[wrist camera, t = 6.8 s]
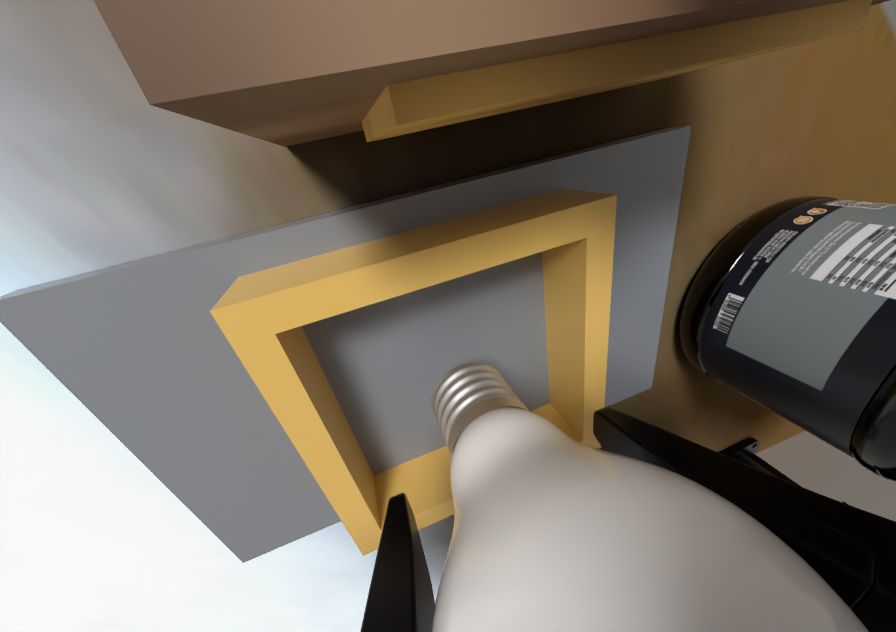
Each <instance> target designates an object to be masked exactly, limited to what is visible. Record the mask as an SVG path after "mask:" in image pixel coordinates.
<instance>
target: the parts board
mask: <svg viewBox="0 0 896 632" xmlns="http://www.w3.org/2000/svg"><path fill="white" fill-rule="evenodd" d="M690 132H691V126H682V127H672V128H666V129H661V130H657V131H653V132H649V133H645V134H641V135H637V136H633V137H629V138H625V139H621V140H617V141H613V142H609V143H605V144H601V145H597V146H593V147H589V148H585V149H581V150H577V151H573V152H569V153H565V154H561V155H557V156H553V157H549V158H545V159H541V160H537V161H533V162H529V163H525V164H521V165H517V166H513V167H509V168H505V169H501V170H497V171H493V172H489V173H485V174H481V175H477V176H473V177H469V178H465V179H461V180H457V181H453V182H449V183H445V184H441V185H437V186H433V187H429V188H425V189H421V190H417V191H413V192H409V193H405V194H401V195H397V196H393V197H389V198H385V199H381V200H377V201H373V202H369V203H365V204H361V205H357V206H353V207H349V208H345V209H341V210H337V211H333V212H329V213H325V214H321V215H317V216H313V217H309V218H305V219H301V220H297V221H293V222H289V223H285V224H281V225H276V226H272V227H268V228H264V229H260V230H256V231H252V232H248V233H244V234H240V235H236V236H232V237H228V238H224V239H220V240H216V241H212V242H208V243H204V244H200V245H196V246H192V247H188V248H184V249H180V250H176V251H172V252H168V253H164V254H160V255H156V256H152V257H148V258H144V259H140V260H136V261H132V262H128V263H124V264H120V265H116V266H112V267H108V268H104V269H100V270H96V271H92V272H88V273H84V274H80V275H76V276H72V277H68V278H64V279H60V280H56V281H52V282H48V283H44V284H40V285H36V286H32V287H28V288H24V289H20V290H16V291H14V292H11V293H9V294H6V295H4V296H1V297H0V322H1V323H2V324H3V325H4V326H5V327H6V328H7V329H8V330H9V331H10V332H11V333H12V334H13V335H14V336H15V337H16V338H17V339H18V340H19V341H20V342H21V343H22V344H23V345H24V346H25V347H26V348H27V349H28V350H29V351H30V352H31V353H32V354H33V355H34V356H35V357H36V358H37V359H38V360H39V361H40V362H41V363H42V364H43V365H44V366H45V367H46V368H47V369H48V370H49V371H50V372H51V373H52V374H53V375H54V376H55V377H56V378H57V379H58V380H59V381H60V382H61V383H62V384H63V385H64V386H65V387H67V388H68V389H69V390H70V391H71V392H72V393H73V394H74V395H75V396H76V397H77V398H78V399H79V400H80V401H81V402H82V403H83V404H84V405H85V406H86V407H87V408H88V409H89V410H90V411H91V412H92V413H93V414H94V415H95V416H96V417H97V418H98V419H99V420H100V421H101V422H102V423H103V424H104V425H105V426H106V427H107V428H108V429H109V430H110V431H111V432H112V433H113V434H114V435H115V436H116V437H117V438H118V439H119V440H120V441H121V442H122V443H123V444H124V445H125V446H126V447H127V448H128V449H129V450H130V451H131V452H132V453H133V454H134V455H135V456H136V457H137V458H138V459H139V460H140V461H141V462H142V463H143V464H144V465H145V466H146V467H147V468H148V469H149V470H150V471H151V472H152V473H153V474H154V475H155V476H156V477H157V478H158V479H159V480H160V481H161V482H162V483H163V484H164V485H165V486H166V487H167V488H168V489H169V490H170V491H171V492H172V493H173V494H174V495H175V496H176V497H177V498H178V499H179V500H180V501H181V502H182V503H183V504H184V505H185V506H187V507H188V508H189V509H190V510H191V511H192V512H193V513H194V514H195V515H196V516H197V517H198V518H199V519H200V520H201V521H202V522H203V523H204V524H205V525H206V526H207V527H208V528H209V529H210V530H211V531H212V532H213V533H214V534H215V535H216V536H217V537H218V538H219V539H220V540H221V541H222V542H223V543H224V544H225V545H226V546H227V547H228V548H229V549H230V550H231V551H232V552H233V553H234V554H235V555H236V556H237V557H238V558H239V559H240V560H241V561H242V562H243V563H244V562H246V561H249V560H251V559H253V558H256V557H258V556H260V555H263V554H265V553H267V552H270V551H272V550H274V549H277V548H279V547H281V546H284V545H286V544H288V543H291V542H293V541H295V540H298V539H300V538H302V537H305V536H307V535H309V534H312V533H314V532H316V531H319V530H321V529H323V528H326V527H328V526H330V525H333V524H335V523H337V522H340V521H342V522H343V524H344V526H345V527H346V529H347V530H348V532H349V534H350V535H351V537H352V538H353V540H354V541H355V543H356V545H357V546H358V548H359V549H360V551H361V553H362V554H363V555H365V554H367V553H370V552H372V551H374V550H376V549H378V548H379V543H380V538H381V534H382V529H383V524H384V520H385V515H386V510H387V506H388V502H389V499H390V498H391V497H393V496H395V495H398V494H400V493H405V494H406V496H407V499H408V501H409V503H410V506H411V508H412V511H413V514H414V517H415V521H416V524H417V528H418V530H420V529H423V528H425V527H427V526H429V525H431V524H434V523H436V522H438V521H440V520H442V519H445V518H447V517H449V516H451V515H453V514H454V506H453V499H452V492H451V484H450V466H451V459H452V458H451V456H450V453H449V450H448V447H447V445H446V442H445V439H444V437H443V435H442V432H441V429H440V427H439V425H438V422H437V419H436V417H435V415H434V411H433V409H432V405H431V398H432V393H433V390H434V388H435V386H436V384H437V383H438V381H439V380H440V379H441V378H442V377H443V376H444V375H445V374H446V373H447V372H448V371H450V370H451V369H453V368H455V367H457V366H459V365H462V364H465V363H469V362H483V363H487V364H489V365H491V366H493V367H494V368H495V369H496V370H497V371H498V372H499V373H500V375H501V376H502V378H504V380H505V381H506V383H507V384H508V385H509V386H510V387H511V389H512V390H513V392H514V393H515V394H516V395H517V396H518V398H519V400H520V401H521V402H522V403H523V404H524V405H525V406H526V407H527V409H528V410H529V411H531V412H534V413H536V414H538V415H540V416H542V417H544V418H546V419H547V420H549V421H550V422H552V423H553V424H554V425H556V426H557V427H558V428H559V429H561V430H562V431H563V432H564V433H566V434H567V435H568V436H570V437H571V438H573V439H574V440H576V441H578V442H580V443H582V444H585V445H587V446H591V447H594V448H598V449H599V448H601V447H602V446H601V445H600V443H599V442H598V441H597V439H596V438H595V436H594V433H593V415H594V412H595V411H596V410H599V409H601V408H604V407H608V406H610V405H613V404H615V403H617V402H620V401H622V400H625V399H627V398H629V397H632V396H634V395H636V394H639V393H641V392H643V391H646V390H648V389H650V388H652V383H653V377H654V370H655V363H656V357H657V350H658V344H659V337H660V330H661V324H662V317H663V311H664V304H665V297H666V291H667V284H668V278H669V271H670V264H671V258H672V251H673V245H674V238H675V231H676V225H677V218H678V212H679V205H680V198H681V192H682V185H683V179H684V172H685V165H686V159H687V152H688V146H689V139H690Z"/></svg>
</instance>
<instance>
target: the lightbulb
mask: <svg viewBox="0 0 896 632" xmlns="http://www.w3.org/2000/svg"><path fill="white" fill-rule="evenodd" d="M431 405H432V409H433V411H434V415H435V417H436V419H437V422H438V425H439V427H440V429H441V432H442V435H443V437H444V439H445V442H446V445H447V447H448V450H449V453H450V456H451V458H452V459H451V466H450V484H451V492H452V499H453V506H454V526H453V532H452V536H451V540H450V545H449V548H448V552H447V556H446V560H445V564H444V568H443V572H442V576H441V580H440V585H439V589H438V594H437V599H436V605H435V610H434V616H433V623H432V631H431V632H869V630H868V629H867V628H866V627H865V625H864V624H863V623H862V622H861V620H860V619H859V618H858V617H857V616H856V614H855V613H854V612H853V611H852V610H851V609H850V607H849V606H848V605H847V604H846V603H845V602H844V601H843V599H842V598H841V597H840V596H839V595H838V594H837V593H836V592H835V591H834V590H833V589H832V587H831V586H830V585H829V584H828V583H827V582H826V581H825V580H824V579H823V578H822V577H821V576H820V575H819V574H818V573H817V572H816V571H815V570H814V569H813V568H812V567H811V566H810V565H809V564H808V563H807V562H806V561H805V560H804V559H803V558H802V557H801V556H799V555H798V554H797V553H796V552H795V551H794V550H793V549H792V548H791V547H789V546H788V545H787V544H786V543H785V542H784V541H782V540H781V539H780V538H779V537H778V536H776V535H775V534H774V533H773V532H772V531H770V530H769V529H768V528H766V527H765V526H764V525H763V524H761V523H760V522H759V521H757V520H756V519H755V518H753V517H752V516H750V515H749V514H748V513H746V512H745V511H743V510H742V509H741V508H739V507H738V506H736V505H735V504H733V503H732V502H730V501H728V500H727V499H725V498H724V497H722V496H720V495H719V494H717V493H715V492H713V491H712V490H710V489H708V488H706V487H704V486H703V485H701V484H699V483H697V482H695V481H693V480H691V479H689V478H686V477H684V476H682V475H680V474H677V473H675V472H673V471H670V470H668V469H665V468H663V467H660V466H657V465H654V464H651V463H648V462H645V461H642V460H639V459H635V458H632V457H628V456H625V455H621V454H617V453H613V452H609V451H605V450H601V449H598V448H594V447H591V446H587V445H585V444H582V443H580V442H578V441H576V440H574V439H573V438H571V437H570V436H568V435H567V434H566V433H564V432H563V431H562V430H561V429H559V428H558V427H557V426H556V425H554V424H553V423H552V422H550V421H549V420H547V419H546V418H544V417H542V416H540V415H538V414H536V413H534V412H531V411H529V410H528V409H527V407H526V406H525V405H524V404H523V403H522V402H521V401H520V400H519V398H518V396H517V395H516V394H515V393H514V392H513V390H512V389H511V387H510V386H509V385H508V384H507V383H506V381H505V380H504V378H502V376H501V375H500V373H499V372H498V371H497V370H496V369H495V368H494V367H493V366H491V365H489V364H487V363H483V362H469V363H465V364H462V365H459V366H457V367H455V368H453V369H451V370H450V371H448V372H447V373H446V374H445V375H444V376H443V377H442V378H441V379H440V380H439V381H438V383H437V384H436V386H435V388H434V390H433V393H432V398H431Z"/></svg>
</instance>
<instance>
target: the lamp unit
mask: <svg viewBox="0 0 896 632" xmlns="http://www.w3.org/2000/svg"><path fill="white" fill-rule="evenodd" d="M885 1H889V0H94V2H95V4H96V6H97V8H98V9H99V11H100V13H101V15H102V17H103V19H104V21H105V22H106V24H107V26H108V28H109V30H110V32H111V34H112V35H113V37H114V39H115V41H116V43H117V45H118V47H119V48H120V50H121V52H122V54H123V56H124V58H125V59H126V61H127V63H128V65H129V67H130V69H131V71H132V72H133V74H134V76H135V78H136V80H137V82H138V84H139V85H140V87H141V89H142V91H143V93H144V95H145V96H146V98H147V100H148V102H149V104H150V105H153V106H156V107H159V108H162V109H166V110H169V111H172V112H175V113H178V114H182V115H185V116H188V117H191V118H195V119H198V120H201V121H204V122H207V123H211V124H214V125H217V126H220V127H223V128H227V129H230V130H233V131H236V132H240V133H243V134H246V135H249V136H252V137H256V138H259V139H262V140H265V141H268V142H272V143H275V144H278V145H281V146H285V147H288V146H292V145H297V144H302V143H307V142H312V141H317V140H321V139H326V138H331V137H336V136H341V135H346V134H350V133H355V132H360V131H364V133H365V137H366V140H367V142H371V141H376V140H381V139H385V138H390V137H395V136H399V135H404V134H409V133H413V132H418V131H423V130H427V129H432V128H437V127H441V126H446V125H451V124H456V123H460V122H465V121H470V120H474V119H479V118H484V117H488V116H493V115H498V114H502V113H507V112H512V111H516V110H521V109H526V108H530V107H535V106H540V105H544V104H549V103H554V102H558V101H563V100H568V99H572V98H577V97H582V96H586V95H591V94H596V93H600V92H605V91H610V90H614V89H619V88H624V87H628V86H633V85H638V84H642V83H647V82H652V81H656V80H660V79H664V78H668V77H672V76H676V75H680V74H684V73H688V72H692V71H696V70H700V69H704V68H708V67H712V66H716V65H720V64H724V63H728V62H732V61H736V60H739V59H743V58H747V57H751V56H755V55H759V54H763V53H767V52H771V51H775V50H779V49H783V48H787V47H791V46H795V45H799V44H803V43H807V42H811V41H815V40H819V39H823V38H827V37H831V36H835V35H839V34H843V33H847V32H851V31H855V30H859V29H862V28H863V27H864V24H865V21H866V18H867V15H868V12H869V9H870V6H871V5H875V4H878V3H882V2H885Z"/></svg>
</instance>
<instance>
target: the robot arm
mask: <svg viewBox="0 0 896 632" xmlns="http://www.w3.org/2000/svg"><path fill="white" fill-rule="evenodd" d="M593 433H594V436H595V438H596V439H597V441H598V442H599V443H600V445H601V446H602V448H603V449H604V450H605V451H609V452H613V453H617V454H621V455H625V456H628V457H632V458H635V459H639V460H642V461H645V462H648V463H651V464H654V465H657V466H660V467H663V468H665V469H668V470H670V471H673V472H675V473H677V474H680V475H682V476H684V477H686V478H689V479H691V480H693V481H695V482H697V483H699V484H701V485H703V486H704V487H706V488H708V489H710V490H712V491H713V492H715V493H717V494H719V495H720V496H722V497H724V498H725V499H727V500H728V501H730V502H732V503H733V504H735V505H736V506H738V507H739V508H741V509H742V510H743V511H745V512H746V513H748V514H749V515H750V516H752V517H753V518H755V519H756V520H757V521H759V522H760V523H761V524H763V525H764V526H765V527H766V528H768V529H769V530H770V531H772V532H773V533H774V534H775V535H776V536H778V537H779V538H780V539H781V540H782V541H784V542H785V543H786V544H787V545H788V546H789V547H791V548H792V549H793V550H794V551H795V552H796V553H797V554H798V555H799V556H801V557H802V558H803V559H804V560H805V561H806V562H807V563H808V564H809V565H810V566H811V567H812V568H813V569H814V570H815V571H816V572H817V573H818V574H819V575H820V576H821V577H822V578H823V579H824V580H825V581H826V582H827V583H828V584H829V585H830V586H831V587H832V589H833V590H834V591H835V592H836V593H837V594H838V595H839V596H840V597H841V598H842V599H843V601H844V602H845V603H846V604H847V605H848V606H849V607H850V609H851V610H852V611H853V612H854V613H855V614H856V616H857V617H858V618H859V619H860V620H861V622H862V623H863V624H864V625H865V627H866V628H867V629H868V630H869V632H896V522H895V521H892V520H889V519H886V518H883V517H881V516H878V515H875V514H872V513H869V512H866V511H864V510H861V509H858V508H855V507H853V506H850V505H848V504H847V503H845V502H839V501H836V500H834V499H831V498H828V497H826V496H823V495H820V494H818V493H815V492H813V491H810V490H808V489H805V488H803V487H801V486H800V485H798V484H797V483H795V482H794V481H792V480H791V479H790V478H788V477H787V476H785V475H784V474H782V473H781V472H780V471H778V470H777V469H775V468H774V467H772V466H771V465H769V464H768V463H767V462H765V461H764V460H762V459H761V458H759V457H758V456H756V455H755V452H756V450H757V448H758V445H759V441H758V440H756V439H755V438H750V439H748V440H746V441H744V442H742V443H740V444H738V445H736V446H734V447H732V448H730V449H728V450H726V451H724V452H722V453H718V452H716V451H713V450H711V449H708V448H706V447H704V446H701V445H699V444H696V443H694V442H692V441H689V440H687V439H684V438H682V437H680V436H677V435H675V434H672V433H670V432H668V431H665V430H663V429H660V428H658V427H656V426H653V425H651V424H648V423H646V422H644V421H641V420H639V419H636V418H634V417H632V416H629V415H627V414H624V413H622V412H620V411H617V410H615V409H612V408H610V407H604V408H601V409H599V410H596V411H595V412H594V415H593ZM434 610H435V602H434V596H433V590H432V584H431V579H430V575H429V571H428V567H427V563H426V559H425V555H424V551H423V548H422V544H421V540H420V536H419V532H418V528H417V524H416V521H415V517H414V514H413V511H412V508H411V506H410V503H409V501H408V499H407V496H406V494H405V493H400V494H398V495H395V496H393V497H391V498H390V499H389V502H388V506H387V510H386V515H385V520H384V524H383V529H382V534H381V538H380V543H379V548H378V552H377V557H376V562H375V566H374V571H373V576H372V580H371V585H370V590H369V594H368V599H367V604H366V608H365V613H364V618H363V622H362V627H361V632H431V631H432V623H433V616H434Z"/></svg>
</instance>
